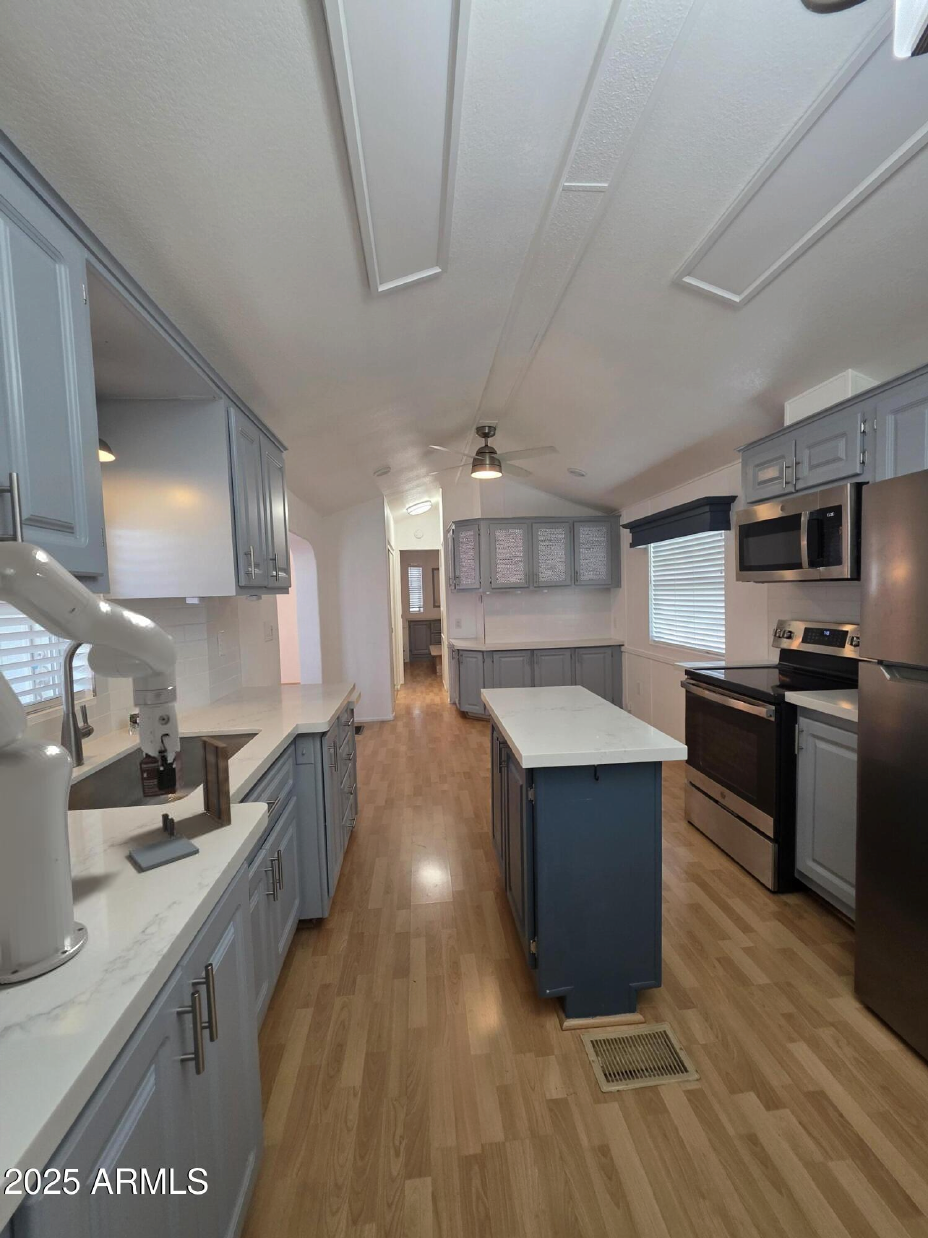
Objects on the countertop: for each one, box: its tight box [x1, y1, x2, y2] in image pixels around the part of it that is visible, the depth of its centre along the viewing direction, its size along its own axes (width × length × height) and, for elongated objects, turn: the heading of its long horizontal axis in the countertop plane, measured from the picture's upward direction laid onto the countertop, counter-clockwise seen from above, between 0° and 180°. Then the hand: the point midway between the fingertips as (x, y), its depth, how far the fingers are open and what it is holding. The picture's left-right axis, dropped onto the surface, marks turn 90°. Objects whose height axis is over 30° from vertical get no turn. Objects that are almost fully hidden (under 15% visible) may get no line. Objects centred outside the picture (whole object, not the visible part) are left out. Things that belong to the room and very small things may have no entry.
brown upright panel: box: [161, 736, 232, 838], centre depth 123 cm, size 12×12×18 cm
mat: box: [128, 833, 200, 872], centre depth 110 cm, size 10×10×1 cm
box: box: [138, 749, 185, 799], centre depth 109 cm, size 6×6×7 cm
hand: (159, 782), depth 109 cm, fingers closed on box, 8 cm apart
